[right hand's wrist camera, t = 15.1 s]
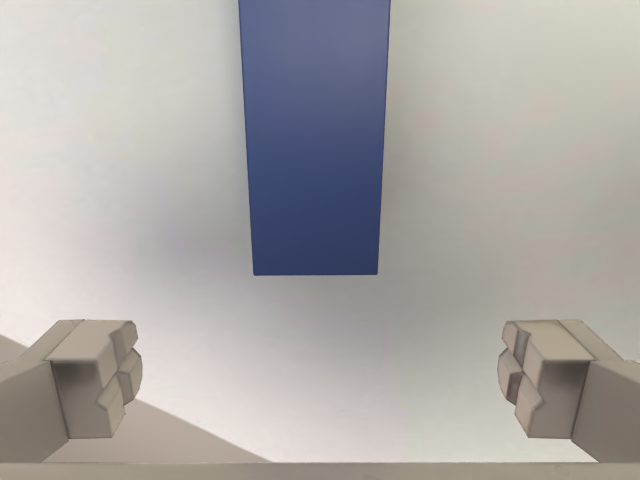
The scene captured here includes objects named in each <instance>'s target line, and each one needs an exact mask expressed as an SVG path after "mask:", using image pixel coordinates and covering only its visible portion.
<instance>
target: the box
mask: <svg viewBox="0 0 640 480" xmlns="http://www.w3.org/2000/svg"><path fill="white" fill-rule="evenodd" d="M238 2H239V20H240V39H241V57H242V75H243V94H244V112H245V130H246V149H247V167H248V185H249V204H250V222H251V240H252V258H253V274H254V275H255V276H260V275H377V274H378V256H379V235H380V213H381V192H382V171H383V150H384V129H385V108H386V87H387V66H388V45H389V24H390V3H391V0H238Z"/></svg>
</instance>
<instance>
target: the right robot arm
mask: <svg viewBox="0 0 640 480" xmlns="http://www.w3.org/2000/svg"><path fill="white" fill-rule="evenodd" d="M137 340H138V335H137V330H136V325H135V324H134V323H133V322H132V321H129V320H84V319H74V320H59V321H58V322H57V323H56V324H54V325H53V326H52V327H51V328H50V329H49V330H48V331H47V332H46V333H45V334H44V335H43V336H42V337H40V338H39V339H38V340H37V341H36V342H35V343H34V344H33V345H32V346H31V347H30V348H29V349H28V350H27V351H25V352H24V353H23V354H22V355H21V356H20V357H19V358H18V359H17V360H16V361H6V362H4V363H2V364H0V480H640V364H639V363H636V362H634V361H624V360H623V359H622V358H621V357H620V356H619V355H618V354H617V353H616V352H615V351H614V350H612V349H611V348H610V347H609V346H608V345H607V344H606V343H605V342H604V341H603V340H602V339H601V338H600V337H599V336H597V335H596V334H595V333H594V332H593V331H592V330H591V329H590V328H589V327H588V326H587V325H586V324H585V323H584V322H582V321H580V320H577V319H567V320H527V321H507V322H506V324H505V326H504V328H503V334H502V340H503V341H504V343H505V344H506V346H507V348H506V349H505V350H504V351H503V352H502V353H501V354H500V356H499V360H498V368H497V371H498V381H499V385H500V388H501V391H502V393H503V395H504V396H505V398H506V400H508V401H509V402H511V403H513V404H514V405H516V409H515V416H516V418H517V419H518V421H519V423H520V424H521V426H522V428H523V430H524V431H525V433H526V435H527V436H528V438H551V439H572V440H571V441H572V442H573V443H575V444H576V445H577V446H579V447H580V448H581V449H582V450H584V451H585V452H586V453H588V454H589V455H590V456H592V457H593V458H594V459H596V460H597V461H598V462H531V463H41V462H42V461H43V460H44V459H46V458H47V457H48V456H50V455H51V454H52V453H54V452H55V451H56V450H58V449H59V448H60V447H62V446H63V445H64V444H66V443H67V442H68V441H69V440H68V439H88V438H112V437H113V435H114V433H115V431H116V430H117V428H118V426H119V424H120V423H121V421H122V419H123V418H124V416H125V409H124V405H126V404H127V403H129V402H131V401H132V400H134V398H135V396H136V395H137V393H138V391H139V388H140V384H141V380H142V359H141V356H140V355H139V353H138V352H137V351H136V350H135V349H134V348H133V346H134V344H135V343H136V341H137Z"/></svg>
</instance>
